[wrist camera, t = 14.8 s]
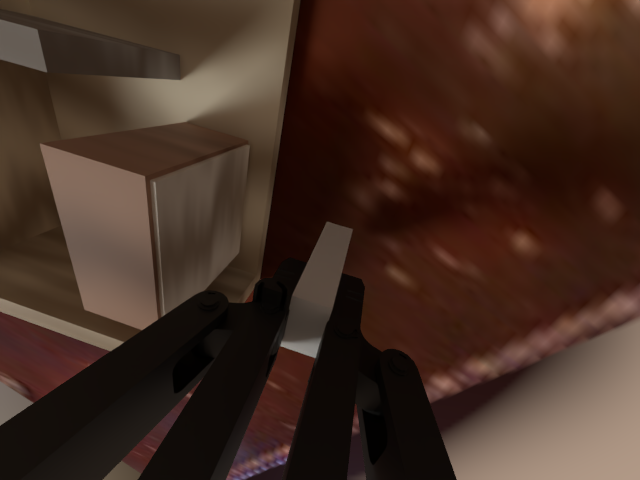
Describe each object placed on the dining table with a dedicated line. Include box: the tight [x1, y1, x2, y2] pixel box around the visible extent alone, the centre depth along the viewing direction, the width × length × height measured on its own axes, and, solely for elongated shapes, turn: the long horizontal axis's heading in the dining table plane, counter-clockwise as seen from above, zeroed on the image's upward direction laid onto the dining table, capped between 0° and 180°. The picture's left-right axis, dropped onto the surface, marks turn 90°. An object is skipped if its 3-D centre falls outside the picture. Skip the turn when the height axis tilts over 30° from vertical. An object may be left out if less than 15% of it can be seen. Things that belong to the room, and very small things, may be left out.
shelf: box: [0, 0, 301, 351], centre depth 14 cm, size 20×16×9 cm
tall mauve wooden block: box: [39, 122, 250, 330], centre depth 15 cm, size 8×4×8 cm, turn 167°
